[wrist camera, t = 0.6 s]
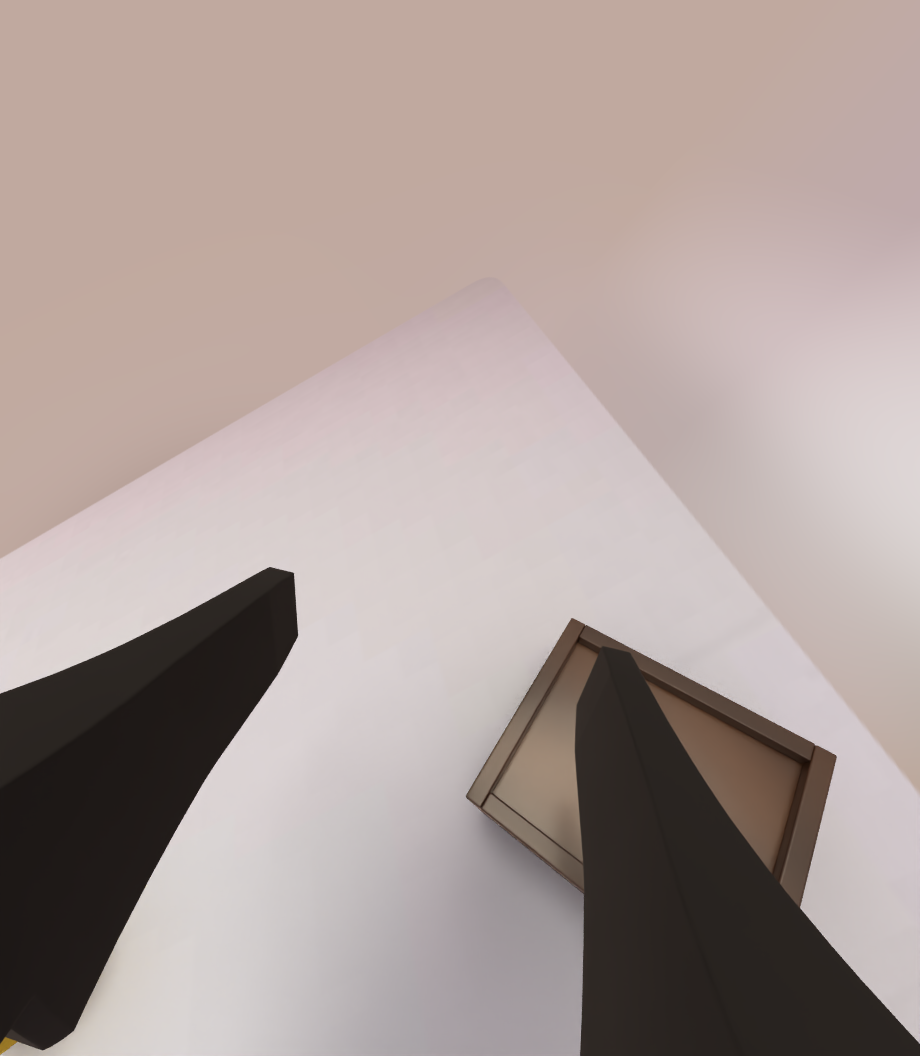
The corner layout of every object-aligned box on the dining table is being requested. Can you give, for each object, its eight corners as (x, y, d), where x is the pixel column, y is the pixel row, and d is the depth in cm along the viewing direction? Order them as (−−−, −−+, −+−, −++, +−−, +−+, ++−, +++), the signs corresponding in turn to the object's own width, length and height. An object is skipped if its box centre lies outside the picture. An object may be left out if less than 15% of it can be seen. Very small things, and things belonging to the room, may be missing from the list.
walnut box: (715, 999, 19) (768, 1041, 15) (480, 810, 24) (465, 796, 20) (780, 777, 23) (838, 755, 19) (567, 657, 29) (571, 617, 24)
